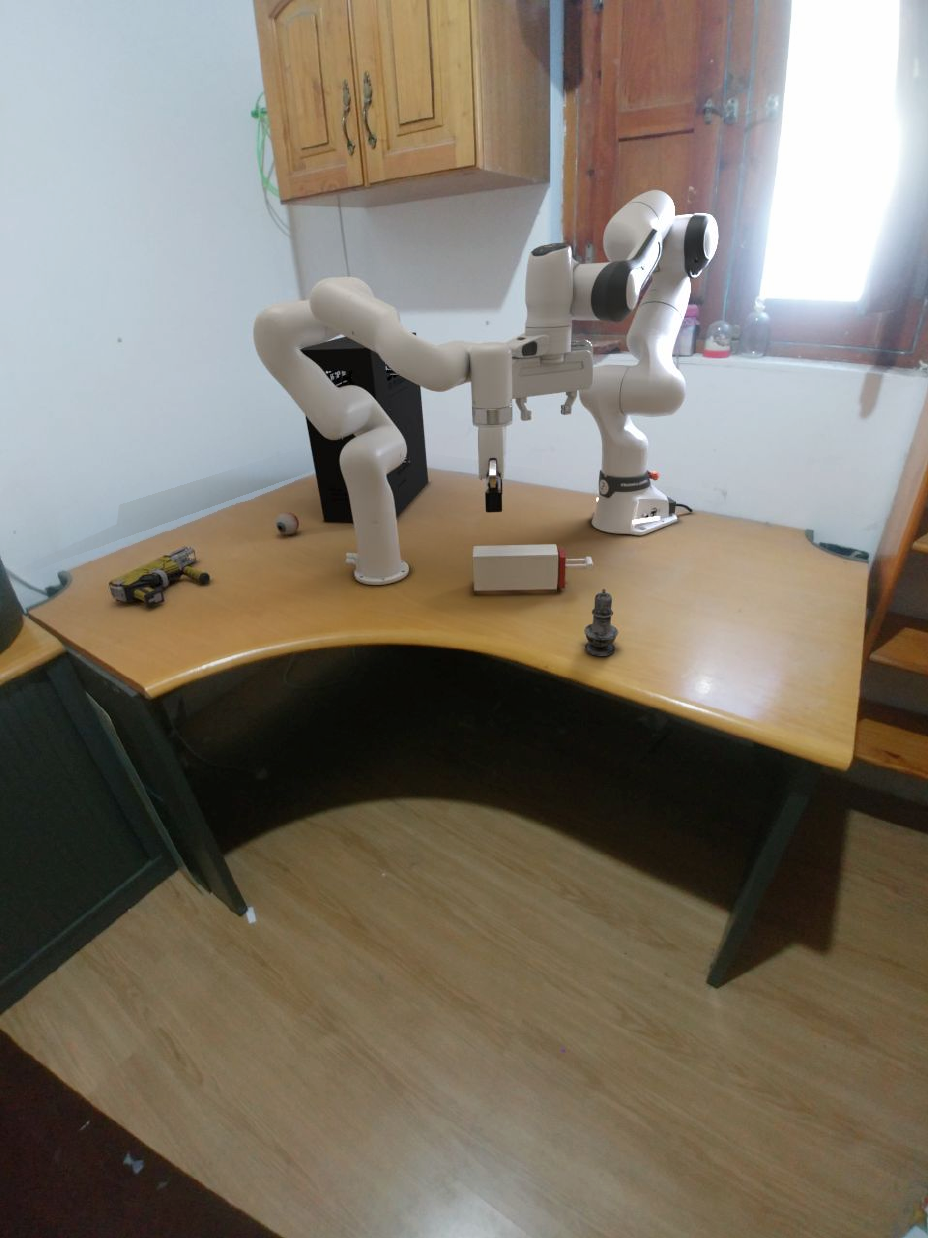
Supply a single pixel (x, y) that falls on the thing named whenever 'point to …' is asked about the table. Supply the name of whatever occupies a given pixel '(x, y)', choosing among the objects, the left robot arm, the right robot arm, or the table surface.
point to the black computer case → (397, 403)
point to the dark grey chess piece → (601, 627)
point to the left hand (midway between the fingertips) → (494, 503)
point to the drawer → (570, 566)
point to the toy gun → (155, 578)
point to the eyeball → (287, 523)
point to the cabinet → (515, 569)
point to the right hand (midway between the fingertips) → (546, 417)
